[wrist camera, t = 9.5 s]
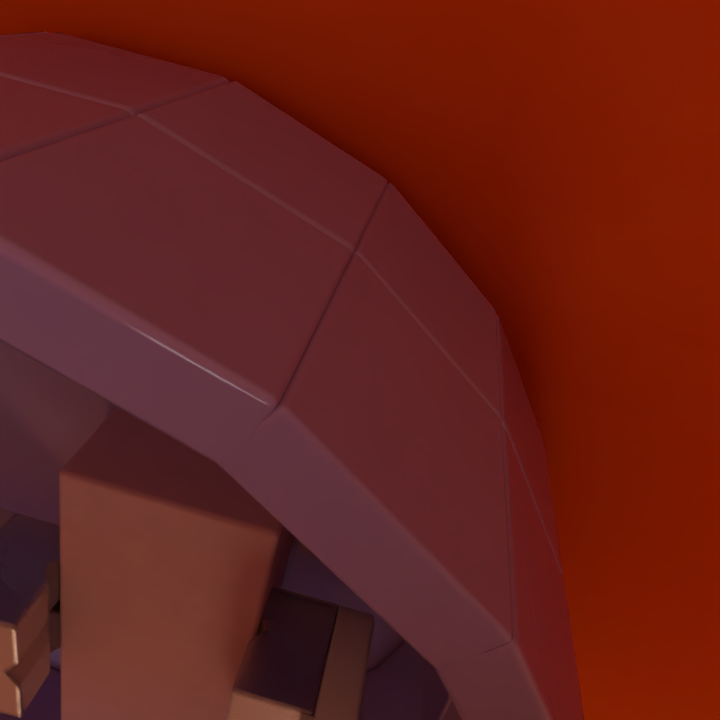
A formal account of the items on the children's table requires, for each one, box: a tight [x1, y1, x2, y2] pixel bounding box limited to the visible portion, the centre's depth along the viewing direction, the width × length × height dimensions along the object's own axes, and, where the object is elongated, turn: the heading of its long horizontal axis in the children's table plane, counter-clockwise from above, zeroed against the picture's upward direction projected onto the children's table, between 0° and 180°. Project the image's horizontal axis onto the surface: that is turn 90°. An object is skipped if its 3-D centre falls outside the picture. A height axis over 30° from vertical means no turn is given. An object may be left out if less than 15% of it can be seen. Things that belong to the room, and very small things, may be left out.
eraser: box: [59, 407, 294, 720], centre depth 10 cm, size 5×3×2 cm, turn 167°
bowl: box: [0, 31, 584, 720], centre depth 9 cm, size 13×13×6 cm
